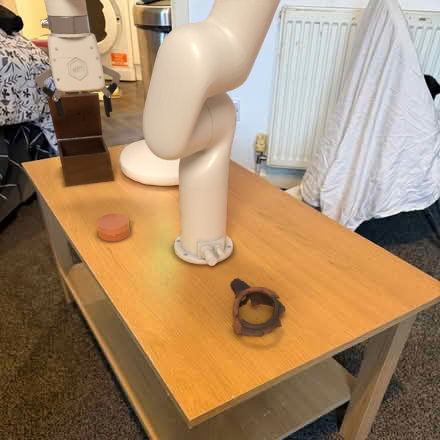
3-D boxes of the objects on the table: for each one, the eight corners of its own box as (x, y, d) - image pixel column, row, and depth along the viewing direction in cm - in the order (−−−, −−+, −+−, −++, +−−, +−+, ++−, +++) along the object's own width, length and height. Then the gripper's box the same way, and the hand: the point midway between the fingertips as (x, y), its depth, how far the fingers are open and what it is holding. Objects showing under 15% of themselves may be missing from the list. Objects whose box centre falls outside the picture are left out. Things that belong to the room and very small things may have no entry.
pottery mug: (296, 322, 72) (297, 306, 64) (257, 358, 70) (253, 346, 63) (250, 277, 76) (245, 257, 69) (212, 311, 75) (203, 294, 67)
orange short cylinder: (132, 238, 90) (131, 225, 88) (101, 243, 88) (98, 230, 86) (127, 223, 95) (125, 211, 93) (97, 228, 93) (94, 215, 91)
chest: (113, 180, 113) (109, 152, 108) (66, 186, 110) (59, 157, 105) (106, 162, 123) (102, 136, 118) (62, 167, 120) (56, 140, 115)
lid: (98, 95, 105) (94, 79, 106) (46, 98, 101) (43, 82, 103) (102, 135, 118) (98, 121, 119) (56, 139, 114) (53, 125, 116)
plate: (229, 165, 111) (133, 181, 103) (227, 186, 116) (135, 203, 107) (190, 124, 129) (106, 134, 120) (190, 144, 134) (109, 155, 125)
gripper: (22, 29, 75) (45, 125, 86) (116, 27, 80) (127, 119, 91) (22, 24, 81) (44, 115, 92) (111, 23, 86) (122, 110, 96)
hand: (85, 117), depth 91 cm, fingers open, 9 cm apart
